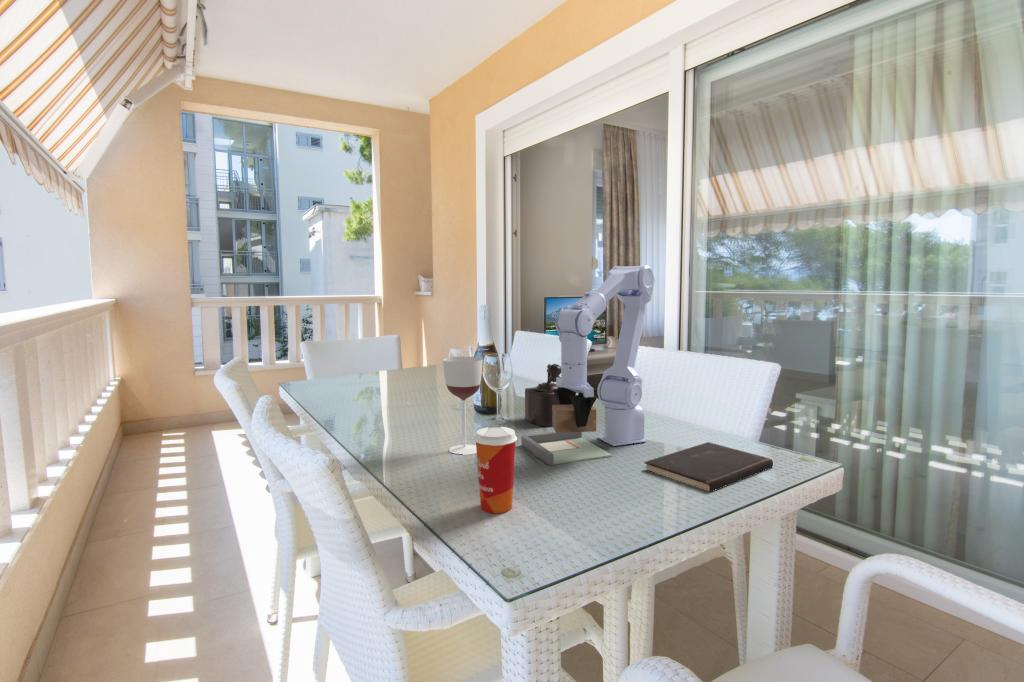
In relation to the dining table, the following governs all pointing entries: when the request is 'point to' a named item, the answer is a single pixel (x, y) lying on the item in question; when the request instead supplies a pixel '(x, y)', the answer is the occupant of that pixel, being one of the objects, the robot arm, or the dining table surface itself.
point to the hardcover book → (709, 465)
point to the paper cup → (496, 468)
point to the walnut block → (571, 419)
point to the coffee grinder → (542, 399)
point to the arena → (562, 447)
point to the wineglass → (463, 389)
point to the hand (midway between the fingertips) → (573, 422)
